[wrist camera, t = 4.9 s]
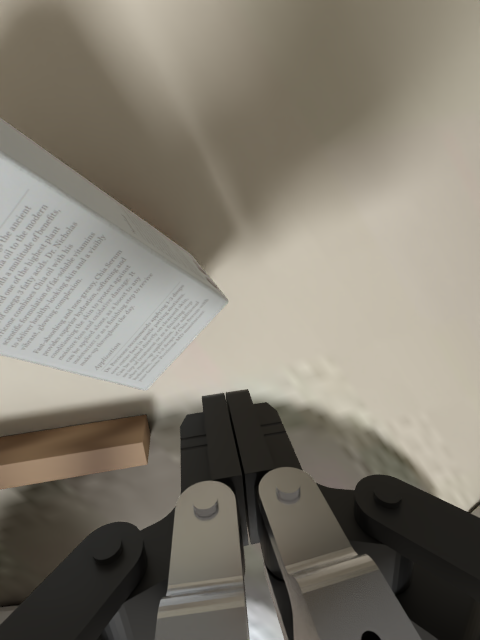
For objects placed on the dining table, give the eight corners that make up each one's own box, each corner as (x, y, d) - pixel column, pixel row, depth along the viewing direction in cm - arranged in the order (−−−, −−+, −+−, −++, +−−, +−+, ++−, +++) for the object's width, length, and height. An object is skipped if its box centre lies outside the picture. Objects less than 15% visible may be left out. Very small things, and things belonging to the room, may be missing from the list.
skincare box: (193, 253, 19) (-102, 34, 10) (233, 302, 16) (-119, 66, 7) (118, 337, 20) (-214, 212, 10) (145, 396, 17) (-265, 299, 8)
